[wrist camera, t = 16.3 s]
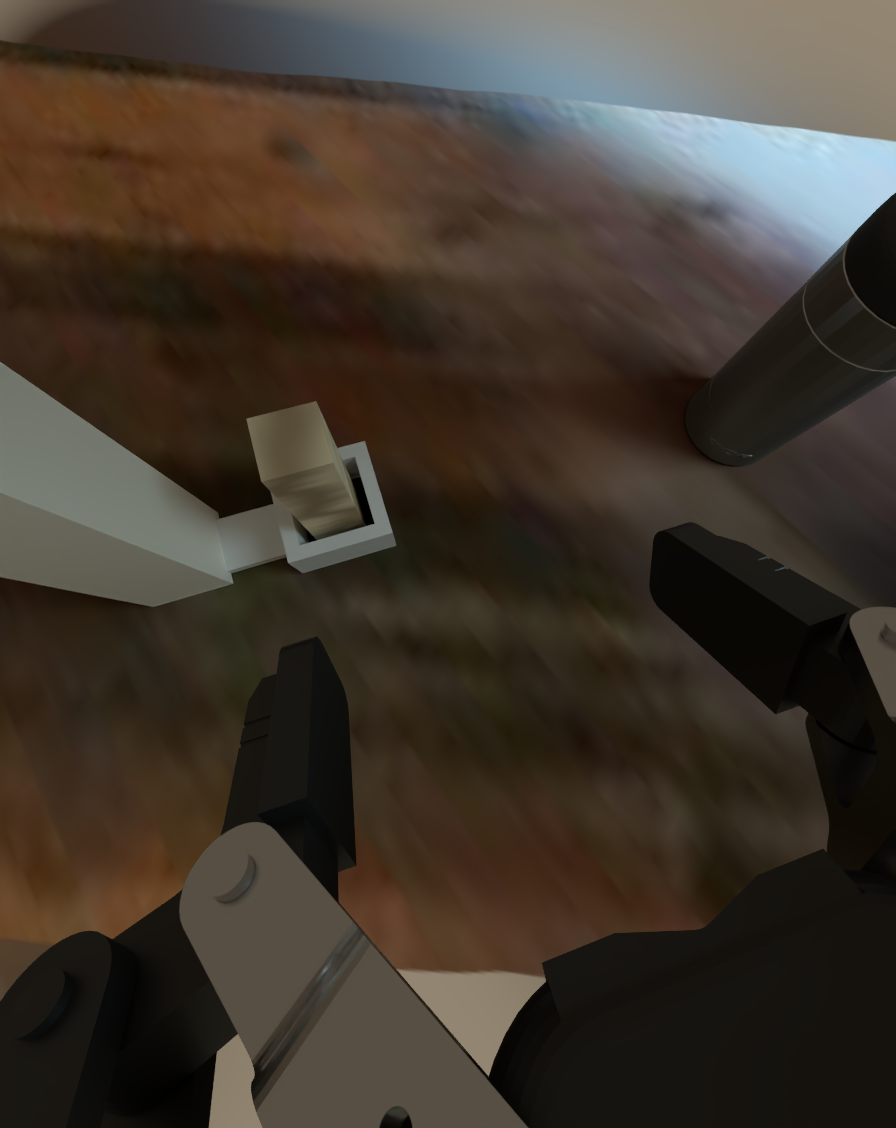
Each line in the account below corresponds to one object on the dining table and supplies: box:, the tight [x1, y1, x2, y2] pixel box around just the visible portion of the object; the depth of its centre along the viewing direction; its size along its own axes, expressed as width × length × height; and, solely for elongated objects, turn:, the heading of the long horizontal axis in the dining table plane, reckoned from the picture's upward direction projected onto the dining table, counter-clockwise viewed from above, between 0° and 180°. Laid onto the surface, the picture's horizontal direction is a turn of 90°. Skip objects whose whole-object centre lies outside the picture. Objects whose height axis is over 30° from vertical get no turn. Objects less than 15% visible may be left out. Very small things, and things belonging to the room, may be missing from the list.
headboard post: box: [0, 362, 396, 607], centre depth 26 cm, size 22×9×28 cm, turn 108°
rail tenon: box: [247, 401, 366, 540], centre depth 33 cm, size 4×4×14 cm
